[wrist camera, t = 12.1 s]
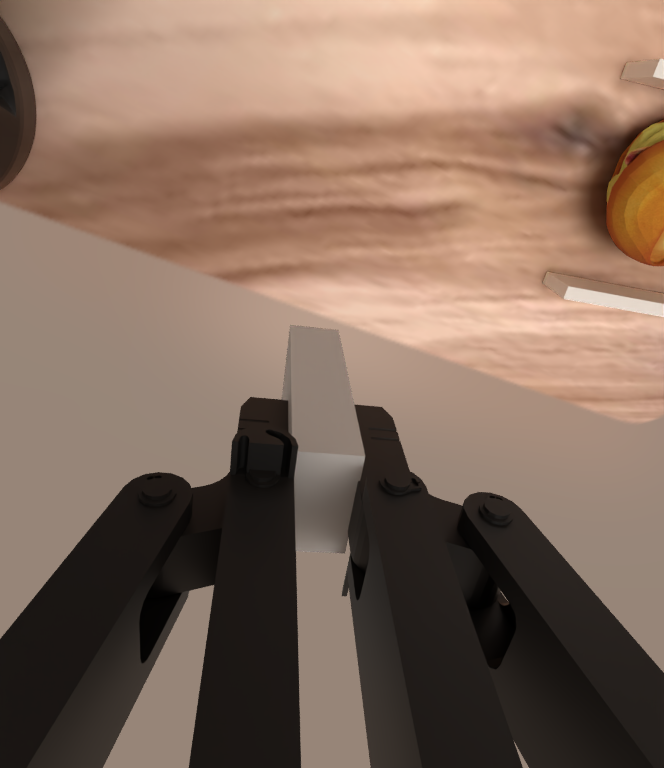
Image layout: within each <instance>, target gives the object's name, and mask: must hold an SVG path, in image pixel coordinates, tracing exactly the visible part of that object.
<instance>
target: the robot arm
mask: <svg viewBox="0 0 664 768" xmlns="http://www.w3.org/2000/svg"><path fill="white" fill-rule="evenodd" d="M35 124H36V107H35V97H34V91H33V86H32V82H31V78H30V74H29V71H28V68H27V65H26V63H25V60H24V58H23V55H22V53H21V51H20V49H19V47H18V45H17V43H16V41H15V39H14V37H13V36H12V34H11V32H10V30H9V29H8V27H7V26H6V24H5V23H4V21H3V20H2V19H1V17H0V190H1V189H2V188H4V187H5V186H6V185H7V184H9V183H10V182H11V181H12V180H13V179H14V178H15V176H16V175H17V174H18V173H19V171H20V170H21V168H22V167H23V165H24V163H25V161H26V159H27V157H28V155H29V152H30V149H31V146H32V143H33V138H34V133H35ZM348 537H349V545H350V552H351V553H350V557H349V562H348V566H347V571H346V576H345V580H344V585H343V591H342V596H347V593H348V588H349V592H350V600H351V609H352V616H353V625H354V633H355V642H356V649H357V657H358V666H359V675H360V683H361V691H362V699H363V708H364V716H365V724H366V732H367V740H368V749H369V757H370V765H371V768H523V767H522V764H521V761H520V758H519V755H518V752H517V749H516V747H515V744H514V742H515V743H516V745H517V747H518V749H519V751H520V752H521V754H522V756H523V758H524V759H525V761H526V763H527V765H528V766H529V768H664V673H663V672H662V670H660V668H659V667H658V666H657V665H656V664H655V662H654V661H653V660H652V659H651V658H650V657H649V655H648V654H647V653H646V652H645V651H644V650H643V649H642V647H641V646H640V645H639V644H638V643H637V642H636V640H635V639H634V638H633V637H632V636H631V635H630V634H629V632H628V631H627V630H626V629H625V628H624V627H623V626H622V624H621V623H620V622H619V621H618V620H617V619H616V618H615V616H614V615H613V614H612V613H611V612H610V611H609V609H608V608H607V607H606V606H605V605H604V604H603V603H602V601H601V600H600V599H599V598H598V597H597V596H596V595H595V593H594V592H593V591H592V590H591V589H590V588H589V587H588V585H587V584H586V583H585V582H584V581H583V580H582V578H581V577H580V576H579V575H578V574H577V573H576V572H575V570H574V569H573V568H572V567H571V566H570V565H569V563H568V562H567V561H566V560H565V559H564V558H563V557H562V555H561V554H560V553H559V552H558V551H557V550H556V548H555V547H554V546H553V545H552V544H551V543H550V542H549V540H548V539H547V538H546V537H545V536H544V535H543V534H542V532H541V531H540V530H539V529H538V528H537V527H536V526H535V524H534V523H533V522H532V521H531V520H530V519H529V517H528V516H527V515H526V514H525V513H524V512H523V511H522V510H521V509H520V508H519V507H518V506H517V505H516V504H515V503H513V502H512V501H510V500H508V499H506V498H504V497H503V496H500V495H496V494H492V493H486V492H478V493H474V494H471V495H469V496H468V497H467V498H466V499H465V500H464V503H463V506H461V505H458V504H455V503H451V502H448V501H444V500H441V499H439V498H436V497H434V496H432V495H430V494H428V491H427V488H426V486H425V484H424V483H423V481H422V480H421V479H420V478H419V477H417V476H416V475H415V474H414V473H412V472H410V470H409V468H408V464H407V461H406V458H405V455H404V452H403V449H402V445H401V443H400V441H399V436H398V433H397V432H396V427H395V424H394V420H393V418H392V417H391V416H390V415H389V414H388V413H387V412H386V411H385V410H384V409H383V408H382V407H374V406H364V405H354V401H353V397H352V392H351V387H350V382H349V377H348V373H347V368H346V363H345V359H344V354H343V349H342V344H341V340H340V335H339V331H338V330H332V329H323V328H314V327H304V326H294V325H290V332H289V340H288V349H287V357H286V367H285V375H284V384H283V394H282V400H278V399H266V398H254V397H250V398H249V399H248V400H247V401H246V402H245V403H244V404H243V405H242V406H241V410H240V417H239V424H238V431H237V434H236V435H235V437H234V439H233V441H232V451H231V466H230V472H229V473H228V475H227V476H225V477H224V478H223V479H221V480H220V481H217V482H215V483H213V484H210V485H206V486H201V487H195V488H191V486H190V484H189V483H188V482H187V481H186V480H184V479H183V478H182V477H179V476H177V475H174V474H171V473H160V472H158V473H150V474H145V475H142V476H140V477H137V478H135V479H133V480H131V481H130V482H129V483H128V484H127V485H125V486H124V487H123V489H122V490H121V491H120V492H119V494H118V495H117V496H116V497H115V499H114V500H113V501H112V502H111V504H110V505H109V506H108V507H107V509H106V510H105V511H104V512H103V513H102V514H101V516H100V517H99V518H98V519H97V521H96V522H95V523H94V524H93V526H92V527H91V528H90V529H89V530H88V532H87V533H86V534H85V536H84V537H83V538H82V539H81V540H80V542H79V543H78V544H77V545H76V546H75V548H74V549H73V550H72V551H71V553H70V554H69V555H68V556H67V558H66V559H65V560H64V561H63V562H62V564H61V565H60V566H59V567H58V569H57V570H56V571H55V572H54V574H53V575H52V576H51V577H50V578H49V580H48V581H47V582H46V584H45V585H44V586H43V587H42V588H41V590H40V591H39V592H38V593H37V595H36V596H35V597H34V598H33V599H32V601H31V602H30V603H29V604H28V606H27V607H26V608H25V609H24V611H23V612H22V613H21V614H20V616H19V617H18V618H17V619H16V621H15V622H14V623H13V624H12V625H11V627H10V628H9V629H8V630H7V631H6V633H5V634H4V635H3V636H2V638H1V639H0V768H103V766H104V764H105V762H106V760H107V758H108V756H109V754H110V752H111V750H112V748H113V746H114V744H115V742H116V740H117V738H118V736H119V734H120V732H121V730H122V728H123V726H124V724H125V722H126V720H127V718H128V716H129V714H130V712H131V710H132V708H133V706H134V704H135V702H136V700H137V698H138V696H139V694H140V692H141V690H142V688H143V685H144V684H145V682H146V680H147V678H148V676H149V674H150V672H151V670H152V668H153V666H154V664H155V662H156V660H157V658H158V656H159V654H160V652H161V650H162V648H163V646H164V644H165V642H166V640H167V637H168V636H169V634H170V632H171V630H172V628H173V626H174V623H175V622H176V620H177V618H178V616H179V614H180V612H181V610H182V608H183V605H184V604H185V602H186V600H187V597H188V593H189V591H190V590H194V589H198V588H202V587H206V586H211V585H214V592H213V599H212V606H211V614H210V620H209V628H208V635H207V641H206V649H205V656H204V663H203V670H202V677H201V685H200V691H199V699H198V706H197V713H196V720H195V728H194V734H193V741H192V749H191V756H190V763H189V768H301V751H300V710H299V709H300V708H299V666H298V625H297V586H296V585H297V584H296V551H305V552H326V553H345V551H346V546H347V541H348ZM500 591H502V593H503V594H504V596H505V597H506V599H507V600H508V601H507V600H506V599H505V597H504V596H503V595H502V593H501V592H500ZM513 740H514V741H513Z"/></svg>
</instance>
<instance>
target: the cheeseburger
mask: <svg viewBox="0 0 664 768" xmlns="http://www.w3.org/2000/svg"><path fill="white" fill-rule="evenodd" d="M606 224H607V227H608V231H609V234H610V236H611V238H612V240H613V241H614V243H615V245H616V246H617V247H618V248H619V249H620V250H621V251H622V252H624V253H625V254H626V255H627V256H629V257H631V258H633V259H635V260H637V261H639V262H641V263H644V264H647V265H651V266H664V119H663V120H661V121H660V122H658V123H655V124H652V125H651V126H649V127H648V128H646V129H645V130H644V131H642V132H641V133H639V134H638V136H637V137H636V138H635V139H634V140H633V142H632V143H631V144H630V145H629V146H628V148H627V149H626V150H625V151H624V152H623V154H622V155H621V156H620V159H619V161H618V164H617V166H616V169H615V171H614V173H613V176H612V178H611V181H610V182H609V185H608V189H607V221H606Z"/></svg>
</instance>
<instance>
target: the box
mask: <svg viewBox="0 0 664 768" xmlns="http://www.w3.org/2000/svg"><path fill="white" fill-rule="evenodd" d="M620 79H623V80H627V81H631V82H635V83H639V84H643V85H648V86H652V87H656V88H660V89H664V60H663V59H654V60H645V61H636V62H627V63H626V65H625V67H624V70H623V73H622V75H621V78H620ZM543 284H544V285H546V286H547V287H548V288H550V289H551V290H552V291H554V292H555V293H556V294H558V295H559V296H560V297H562V298H563V299H567V300H572V301H578V302H583V303H589V304H594V305H600V306H605V307H611V308H616V309H622V310H627V311H633V312H638V313H644V314H649V315H655V316H660V317H664V293H659V292H653V291H648V290H643V289H637V288H632V287H627V286H621V285H616V284H611V283H606V282H600V281H595V280H590V279H584V278H579V277H574V276H568V275H563V274H558V273H552V272H547V273H546V276H545V278H544V281H543Z"/></svg>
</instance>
